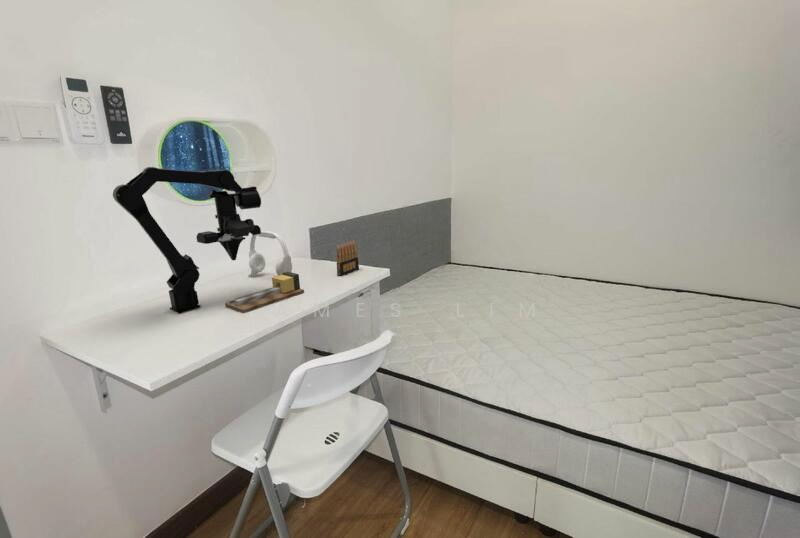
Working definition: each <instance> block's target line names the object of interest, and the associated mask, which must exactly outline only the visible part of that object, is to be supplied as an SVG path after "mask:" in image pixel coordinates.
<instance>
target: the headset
mask: <svg viewBox="0 0 800 538" xmlns="http://www.w3.org/2000/svg"><path fill="white" fill-rule="evenodd" d="M257 236H258V237H261V238H268V239H277V240H278V242H279V244H280V246H281V248H282V251H283V255H284V256H283V257H282V258H279V259H278V260H277V262H276V264H275V272H276V274H277V276H279V275H283V273H284V272H291V273H293V272H292V270H293V263H292V257H291V256H290V254H289V250H288V248H287V245H286V243H285V240H284V238H283V237H282V236H281V235H280V234H278V233H276V232H273V231H268V230H261V234H257V235H252V234H251V239H250V245H249V251H248V258H249V260H248V265H249V268H250V270H251V273H249V274H247V278H248V277H249V278H252V277H254V276H256V275H257V274H259V273H262V272H263V270H265V268H266V258H265V257H264V255H263V254H262V253H259V252H257V250H256V249H255V244H256V238H257ZM251 276H252V277H251Z"/></svg>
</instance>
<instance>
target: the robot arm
mask: <svg viewBox="0 0 800 538" xmlns="http://www.w3.org/2000/svg"><path fill="white" fill-rule="evenodd" d="M158 182H160V183H161V182H163V183H180V184H191V185H192V184H193V185H201V186H206V187H210V188H212V189H210V191H209V192H208V193H207V195H206V197H207V198H209V199H210V198H212V199H213V198H214V202H215V209H216V214H215V215H214V216H215V217H214V218H215V219H217V222H218V227H217V228H216V229H217V230H216V231H217V232H216V231H211V230H210V231H209V230H208V231H203V232H198V233H197V235H196V242H197V243H199V244H200V243H201V244H205V245H207V244H208V245H210V244H214V243H219V244H220V246H222V247H223V249H224V250H225V252H226V253H227V255H228V256H229V258H230V259H231V261H236V260H237V255H238V251H239V248H240V244H241V243H242V242H243V241H244V240H246V237H248V236H249V235H250V234H251V236H252V235H257V234H261V231H262V229H261V227H260V225H258V224H255V223H254V220H253V219H252V218H246V219H245V220H242V219H241V215H240V213H237V207H238V208H239V209H240V210H250V209H258V208H260V207H261V205H262V198H261V196H260V193H259V191H258V190H257V189H258V188H257V186H249V187H241V186H240V184H238V182H237V181H236V180H235V176H234V175H233V174H232V172H231V170H227V169H211V170H200V171H194V170H183V169H182V170H181V169H171V168H159V167H155V166H148V167H145V168H144V169H143V170H142V171H141V172H139V174H137V175H136V176H135V177H133V178H131V180H129V181H127V183H126V184H120V185H117V186H116V187H115V188H114V189H113V192H112V197H113V199H114V201H115V202H116V203H117V204H118V205H119V206H120V207H121V208H123V209H124V211H126V212H127V213H128V214H129V215H130V216H131V217H133V218H134V219H135V220H136V222H137V223H138V225H140V227H141V229H143V231H144V232H145V233H146V235H148V237H149V239H150V240H151V241H152V243H154V245H155V246H156V248H157V249H158V251H159V252H160V253H161V254H162V255H163V257H164V258H165V259H166V261H167V264H168V267H169V269H170V271H171V272H172V274H171V276H169V278H168V279H167V280H166V284H167V286H168V287H169V288H170V289H169V290H168V294H169V301H170V304H171V305H170V306H171V307H169V310H170V311H173V312H175V313H177V314H182V313H185V312H189V311H191V310H195V309H198V308H200V307H201V305H200V304H199V303H200V302H199V301H200V300H199V297H198V291H197V290H196V289H195V285H196V282H198V280H199V279H200V272H199V269H200V267H199V266H197V265H196V263H195V262H194V260H193V258H192V257H191V256H190V255H188V254H187V253H186V254H184V255H182V254H181V253H180V252H179V250H178V249H177V248H176V246H175V245H174V244H173V242H172V241H171V239H170V238H169V237H168V235H166V233H165V231H164V230H163V229H162V228H161V226H160V224H159V223H158V222H157V220H156V219H155V218H154V217H153V215H152V214H151V212H150V210H149V207H148V205H147V202H146V200H145V198H144V194H145V195H146V193H147V192H148V191H149V190H150V189H151V188H152V187H153V186H154V185H155V184H156V183H158ZM213 188H214V189H213ZM215 189H220V190H221V191H218V190H217V191H216V190H215ZM229 192H234V193H229ZM257 236H258V235H257Z"/></svg>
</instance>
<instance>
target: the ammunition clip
mask: <svg viewBox="0 0 800 538" xmlns="http://www.w3.org/2000/svg"><path fill="white" fill-rule="evenodd" d="M357 251H358V250H357V243H356V241H355V239H353V240H350V241H347V242H346V241H344V243H340V244H339V243H338V244H337V247H336V254H337V255H336V260H337V261H336V276H337V277H344V276H346V275H348V274H351V273H353V272H357V271H359V270H360V266H359V257H358V252H357Z"/></svg>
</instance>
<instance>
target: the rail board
mask: <svg viewBox="0 0 800 538" xmlns="http://www.w3.org/2000/svg"><path fill="white" fill-rule="evenodd" d="M283 275H286V276H290V277H293V280H294V289H295V290H292V291H289V292H286V293H283V292H281V287H280V286H279V287H276V288H273V286H272V287H269V288H266V289H263V290H260V291H257V292H253V293H250V294H247V295H246V294H245V295H243V296H241V297H237V298H233V299H230V300H228V302H225V303H224V306H225V307H226V308H227V309H228V308H229V309H231V310H233V311H236V312H239V313H241V314H246V313H248V312H251V311H254V310H258V309H260V308H264V307H265V306H270V305H272V304H275V303H278V302H281V301H283V300H288V299H289V298H293V297H295V296H299V295H302V294H305V290H304V289H303V288H301V286H300V284H301V283H300V275H299V273H297V272H296V273H295V272H292V273H291V272H284V273H283Z"/></svg>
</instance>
